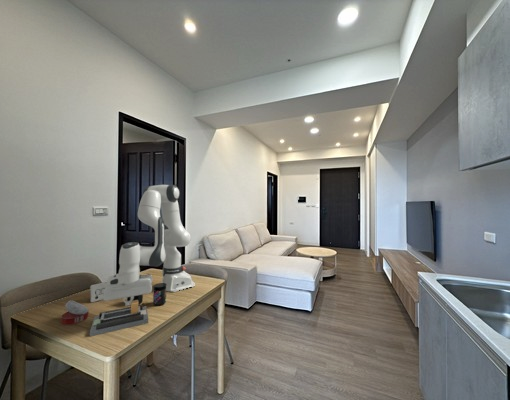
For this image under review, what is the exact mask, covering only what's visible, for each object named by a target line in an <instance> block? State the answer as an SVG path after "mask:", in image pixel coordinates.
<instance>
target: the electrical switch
mask: <svg viewBox="0 0 510 400" xmlns="http://www.w3.org/2000/svg"><path fill="white" fill-rule="evenodd" d="M106 285H107V281H105V282H100V283H96V284H91V285H90V286H89V289H90V290H89V291H90V300H89V301H90V303H96V302H99V301H102V300H103V294H104V290H105V287H106ZM103 301H104V300H103Z"/></svg>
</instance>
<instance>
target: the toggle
mask: <svg viewBox="0 0 510 400" xmlns="http://www.w3.org/2000/svg"><path fill="white" fill-rule="evenodd" d="M138 305H139V304H138V300H134V301H132V302H131V306H130V307H131V313H136V312H138Z"/></svg>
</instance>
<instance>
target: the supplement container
mask: <svg viewBox="0 0 510 400" xmlns="http://www.w3.org/2000/svg"><path fill="white" fill-rule="evenodd" d="M166 286H167V284H166V283H162V282H159V283H156V284H153V293H152V294H153V296H152V297H153V299H152V304H153V306H155V307H159V306H163V305H165V304H166V302H167V291H166Z"/></svg>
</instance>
